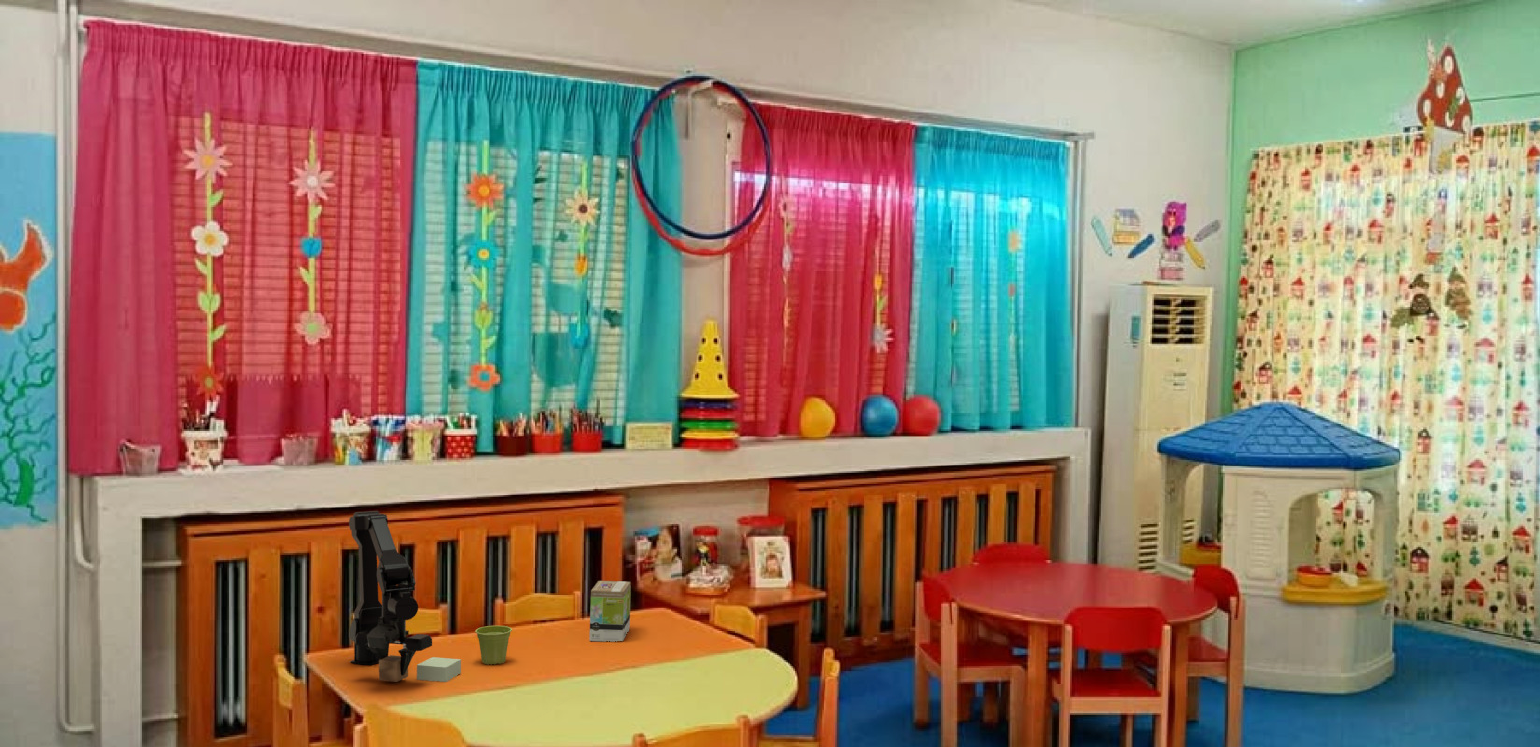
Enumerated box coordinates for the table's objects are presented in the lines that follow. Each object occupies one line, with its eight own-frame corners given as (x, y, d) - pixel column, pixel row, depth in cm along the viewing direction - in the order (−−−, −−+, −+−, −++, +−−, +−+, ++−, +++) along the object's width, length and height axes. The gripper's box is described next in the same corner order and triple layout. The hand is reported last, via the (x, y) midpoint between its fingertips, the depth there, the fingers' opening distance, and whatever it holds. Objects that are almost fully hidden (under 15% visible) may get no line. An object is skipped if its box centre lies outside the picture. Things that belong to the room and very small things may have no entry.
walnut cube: (379, 680, 317) (379, 660, 317) (390, 674, 322) (390, 655, 322) (396, 682, 316) (396, 662, 316) (407, 676, 321) (408, 657, 320)
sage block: (416, 680, 321) (416, 665, 321) (432, 672, 329) (432, 657, 329) (445, 683, 320) (445, 667, 319) (460, 675, 327) (460, 659, 327)
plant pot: (503, 668, 333) (503, 635, 333) (469, 665, 335) (469, 632, 335) (517, 658, 343) (517, 626, 342) (484, 656, 344) (484, 624, 344)
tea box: (624, 642, 362) (624, 590, 361) (588, 642, 362) (589, 590, 361) (630, 630, 377) (631, 580, 376) (596, 629, 377) (597, 579, 376)
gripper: (341, 616, 313) (341, 679, 314) (408, 622, 308) (408, 686, 309) (368, 606, 324) (368, 667, 325) (433, 612, 319) (433, 674, 319)
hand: (393, 674), depth 319 cm, fingers closed on walnut cube, 5 cm apart
